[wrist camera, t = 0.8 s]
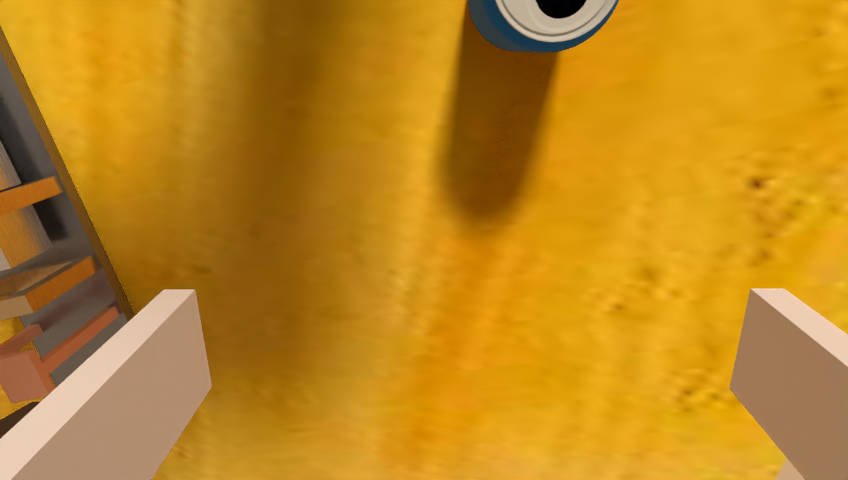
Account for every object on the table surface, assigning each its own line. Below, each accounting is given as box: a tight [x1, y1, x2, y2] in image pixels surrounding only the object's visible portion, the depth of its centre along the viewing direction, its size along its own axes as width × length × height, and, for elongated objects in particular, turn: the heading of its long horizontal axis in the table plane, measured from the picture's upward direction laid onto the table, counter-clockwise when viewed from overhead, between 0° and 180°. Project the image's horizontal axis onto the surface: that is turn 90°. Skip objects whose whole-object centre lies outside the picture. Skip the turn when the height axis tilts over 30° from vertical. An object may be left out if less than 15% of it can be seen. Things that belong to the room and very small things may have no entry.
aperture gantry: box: [0, 306, 119, 403], centre depth 38 cm, size 3×7×9 cm, turn 104°
